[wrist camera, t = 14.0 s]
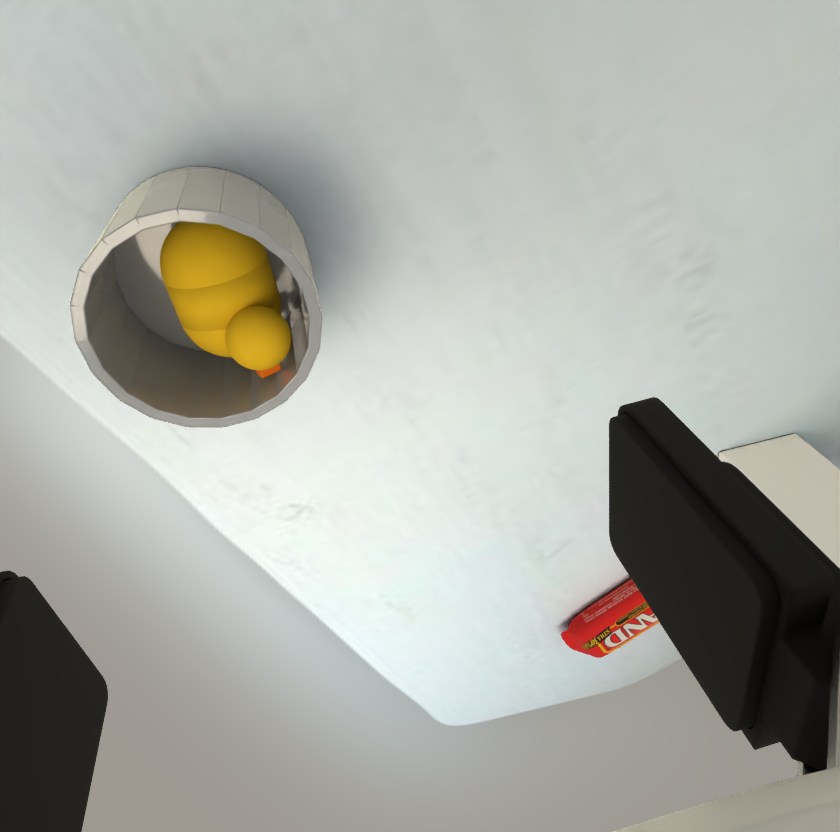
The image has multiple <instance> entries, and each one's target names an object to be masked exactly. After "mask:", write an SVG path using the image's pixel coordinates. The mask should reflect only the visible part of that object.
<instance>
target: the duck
mask: <svg viewBox="0 0 840 832" xmlns="http://www.w3.org/2000/svg"><path fill="white" fill-rule="evenodd" d="M160 270H161V275H162V278H163V282H164V284H165V286H166V289H167V291H168V294H169V296H170V299H171V301H172V303H173V306H174V308H175V311H176V313H177V316H178V318H179V320H180V323H181V325H182V327H183V329H184V330H185V332H186V334H187V335H188V336H189V337H190V339H191V340H192V341H193V342H194V343H195V344H197V345H198V346H199V347H200V348H202V349H204V350H205V351H207V352H210V353H212V354H214V355H218V356H223V357H233V359H234V360H235V361H236V362H237V363H239V364H240V365H242V366H243V367H246V368H248V369H252V370H256V372H257V374H258V375H259V376H260V377H261V378H265V377H267V376H269V375H271V374H273V373H276V372H278V371H280V370H281V366H280V363H281V362H282V361H283V360H284V359H285V357H286V356H287V354H288V352H289V350H290V347H291V331H290V328H289V325H288V323H287V322H286V320H285V319H284V318H283V316H282V315H281V299H280V294H279V291H278V288H277V285H276V281H275V278H274V275H273V272H272V268H271V265H270V262H269V259H268V256H267V252H266V250H265V248H264V246H263V245H262V244H261V243H259V242H258V241H257V240H255V239H254V238H252V237H249V236H247V235H244V234H242V233H239V232H236V231H234V230H231V229H229V228H226V227H224V226H221V225H218V224H206V223H194V222H181V221H180V222H179V223H178V224H176V225H175V226H174V227H173V228H172V229H171V230H170V232H169V233H168V235H167V236H166V238H165V240H164V243H163V245H162V248H161V254H160Z"/></svg>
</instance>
